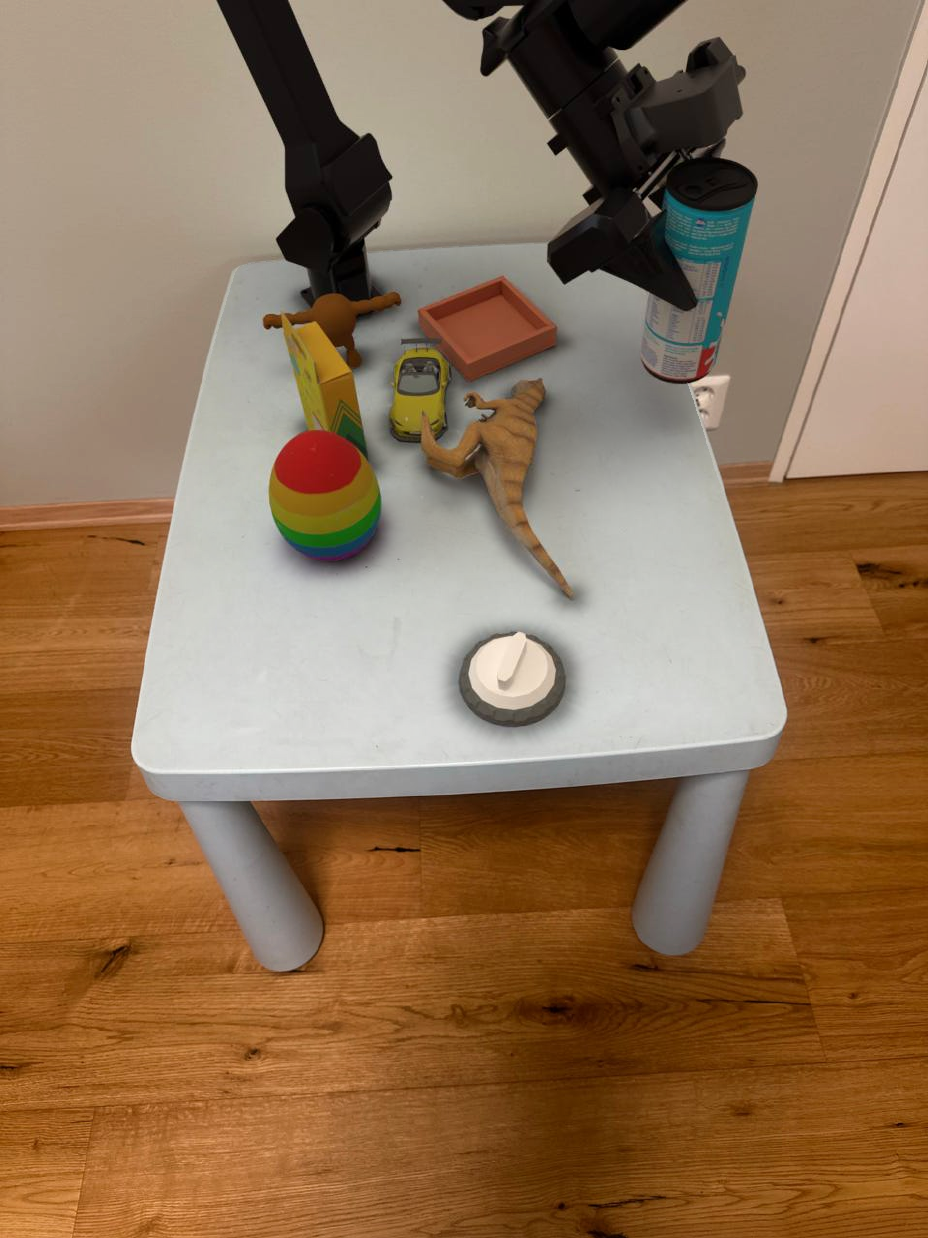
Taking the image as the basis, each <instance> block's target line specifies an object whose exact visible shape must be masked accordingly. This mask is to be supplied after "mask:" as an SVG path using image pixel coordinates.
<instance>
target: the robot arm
mask: <svg viewBox="0 0 928 1238" xmlns="http://www.w3.org/2000/svg"><path fill="white" fill-rule="evenodd" d="M215 1H216V4H217V5H218V7H219V9H220V12H221V13H222V14H221V15H223V18H224V20H225V22H226V24H227V26H228V28H229V31H230V33H231V35H232V37H233V39H234V41H235V43H236V45H237V48H238V50H239V52H240V55H241V56H242V58H243V61H244V63H245V65H246V67H247V69H248V71H249V73H250V75H251V78H252V80H253V82H254V84H255V86H256V88H257V90H258V93H259V94H260V96H261V99H262V101H263V103H264V105H265V107H266V109H267V111H268V113H269V116H270V118H271V120H272V122H273V124H274V126H275V129H276V131H277V132H278V135H279V137H280V139H281V141H282V144H283V148H284V190H285V193H286V196H287V199H288V202H289V204H290V208H291V209H292V212H293V215H294V218H293V219H292V220H291V221H290V222H289V223H288V224H287V225H286V227H285V228H284V229H283V230H282V231H281V232H280V233H279V234H278V235H277V236H276V237H275V242H276V244H277V247H278V248H279V250H280V252H281V254H282V256H283V258H284V260H285V261H286V262H288V263H291V264H294V265H297V266H299V267H303V268H305V269H306V272H307V273H306V274H307V277H308V281H309V287H306V288H304V289H302V290H300V292H299V294H300V297H301V300H303V302H304V303H305V304H306V305H307V307H308V308H309V309H312V307H313V305H314V303H315V301H316V300H317V299H318V298H319V297H321V296H324V295H326V294H341V295H343V296H345V297H346V298H347V299H348V300H349V301H351V302H354V301H355V302H359V301H361V300H371V299H372V298H374V297H377V296H384V295H383V294H382V293H381V292H380V291H379V290H378V288H377V287H376V286H375V285H374V284H373V283H372V278H371V272H370V264H369V258H368V252H367V246H366V239H365V238H367V236H369V235H370V234H371V233H372V232H373V231H374V230H377V229H378V228H380V226H381V222H382V219H383V217H384V216H385V215H386V214H387V213H388V212H389V209H390V205H391V202H392V200H393V191H392V186H391V184H390V181H391V180H393V175H392V173H391V172H390V171H389V169H388V168H387V166H386V164H385V163H384V161H383V158H382V154H381V152H380V149H379V148H380V147H379V145H378V141H377V139H376V138H375V136H374V135H373V134H372V133H371V132H366V133H365V134H363V135H359V134H357V133H356V132H355V131H354V130H353V129H352V128H350V127H349V126H348V125H347V124H345V123H344V122H343V121H342V120H341V119H340V117H339V115H338V114H337V111H336V109H335V107H334V104H333V102H332V100H331V97H330V95H329V93H328V91H327V90H328V89H327V88H326V85H325V83H324V81H323V78H322V76H321V73H320V71H319V69H318V67H317V64H316V62H315V60H314V57H313V55H312V52H311V51H310V48H309V46H308V43H307V41H306V39H305V36H304V34H303V32H302V29H301V27H300V24H299V22H298V19H297V18H296V17H297V16H296V15H295V12H294V11H293V8H292V6H291V3H290V1H289V0H215ZM441 1H442V3H443V4H445V5H446V6H447V8H448V9H450V11H452V12H453V13H454V14H455V15H457V16H459V17H461V18H463V19H465V20H468V21H473V22H478V21H479V20H484V19H487V18H490V17H493V16H494V15H496V14H497V13H498V12H499V11H501V10H503V8H505V7H521V8H520V9H518V11H516V13H515V14H514V15H513V16H512V17H511V18H507V17H503V16H500V15H499V16H497V17H496V18H494V19H493V20H492V21H491V22H490V23H488V24H487V25H486V26H485V27H484V28H482V30H481V36H482V50H481V51H482V52H481V57H480V66H479V72H480V74H481V76H482V77H485V78H488V77H490V75H492V74H493V73H494V72H495V71H496V70H498V69H499V68H501V66H502V65H504V63H506V62H508V64H509V65H510V67H511V69H512V70H513V71H514V72H515V74H516V76H517V77H518V79H519V80H520V81H521V83H522V84H523V86H524V87H525V89H526V90H527V92H528V93H529V95H530V96H531V98H532V99H533V101H534V102H535V104H536V106H538V108H539V110H540V111H541V112H542V114H543V115H544V117H545V118H546V120H547V122H548V123H549V125H550V126H551V128H552V129H553V130H554V132H555V134H554V135H553V136H552V137H551V139H549V140H548V141H547V142H546V145H547V146H548V148H549V149H550V151H551V152H552V154H553V155H554V157H556V156H558V155H559V154H561V152H563V151H564V150H565V149H566V150H567V151H568V152H569V154H570V155H571V157H572V159H573V160H574V161H575V163H576V165H577V166H578V167H579V170H580V171H581V172H582V174H583V175H584V176H585V178H586V180H587V181H588V183H589V184H590V186H589V187H588V188H587V189H586V190H585V191H584V192H583V194H582V195H581V197H583V199H584V201H585V202H586V204H587V205H588V206H586V208H584V209H582V210H581V211H579V212H578V213H577V214H575V215H574V216H573V217H572V216H571V218H570V219H569V220H568V221H567V222H566V223H565V224H564V225H563V226H562V228H561V229H560V230H558V232H557V233H556V234H555V235H554V236H553V238H551V239H550V240H549V241H548V243H547V247H546V248H547V249H546V263H547V264H548V265H549V267H550V268H551V270H552V271H553V272H554V274H555V275H556V276H557V278H558V279H559V281H560V282H561V283H562V285H564V286H565V285H567V284H568V283H571V282H572V281H573V280H575V279H577V278H579V277H581V276H582V275H583V274H585V273H587V272H590V273H591V274H593V273H595V272H596V271H598V270H600V271H602V272H604V273H606V274H609V275H612V276H614V277H616V278H618V279H621V280H623V281H626V282H628V283H630V284H632V285H634V286H636V287H638V288H640V289H642V290H644V291H645V292H647V293H648V294H649V293H651V294H653V295H655V296H657V297H659V298H661V299H662V300H664V301H666V302H668V303H670V304H672V305H674V306H675V307H677V308H679V309H681V310H683V311H686V312H687V311H689V310H691V309H693V308H695V307H696V306H697V305H698V300H697V298H696V296H695V294H694V291H693V289H692V287H691V285H690V283H689V281H688V279H687V278H686V276H685V274H684V272H683V270H682V269H681V267H680V265H679V263H678V261H677V260H676V258H675V256H674V254H673V252H672V251H671V249H670V247H669V245H668V243H667V242H666V239H665V228H666V220H667V208H666V209H664V210H663V211H662V205H663V199H664V193H665V188H666V179H667V175H668V173H669V171H670V170H671V169H672V168H673V167H674V166H676V165H677V164H679V163H681V162H683V161H686V160H689V159H693V158H699V157H717V158H721V156H722V153H723V151H724V149H725V147H726V144H727V139H726V136H727V134H728V130H729V128H730V127H731V126H732V125H733V124H734V123H735V121H737V120H740V119H741V118H742V117H743V115H744V110H743V109H744V108H743V105H742V99H741V96H740V90H739V85H740V84H741V83H742V82H743V81H744V80H745V78H746V76H747V71H746V68H745V67H744V66H743V65H740V64H739V63H738V60H737V56H736V54H733V52H732V51H731V50H730V49H729V47H728V45H726V43H725V42H724V41H723V39H722V38H721V36H716V37H713V38H709V39H706V40H702V41H700V42H698V44H697V45H696V46H695V47H694V48H693V49H692V50H691V51H690V52H689V53H688V56H687V60H686V66H685V70H684V69H679V70H677V71H675V73H674V74H673V75H672V76H670V77H668V78H664V79H661V80H658V81H657V80H656V79H655V78H654V76H653V75H652V73H651V71H650V70H649V69H648V67H647V66H646V65H641V64H640V62H638V63H637V64H635V65H634V66H633V67H632V68H630V69H629V70H627V68H626V67H625V65H624V63H623V62H622V60H621V59H620V58H619V56H618V54H617V52H616V51H615V50H617V51H628V50H630V49H633V48H634V47H635V46H636V45H637V44H638V43H640V42H641V41H642V40H643V39H644V38H646V37H647V36H648V35H649V34H651V32H653V31H654V30H655V29H656V28H658V27H659V26H660V25H661V24H663V22H664V21H666V20H668V18H669V17H670V16H672V15H673V14H674V13H675V12H676V11H677V10H679V9H680V8H681V7H682V6H684V5H685V4H686V3H687V2H688V1H689V0H441ZM646 198H648V199H649V200H650V201H651V202H652V203H653V204H654V205H655V206H656V208H658V209H659V210H660V211H659V212H658V213H656V214H654V215H653V216H652V214H651V213H650V211H649V209H648V208H647V206H646V205H645V203H644V201H645V199H646ZM375 312H376V313H377V311H373V310H371V311H369V312H367V313H362V314H358V315H357V316H356V320H358V319H360V318H363V317H366V316H368V315H371V314H373V313H375Z"/></svg>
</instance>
